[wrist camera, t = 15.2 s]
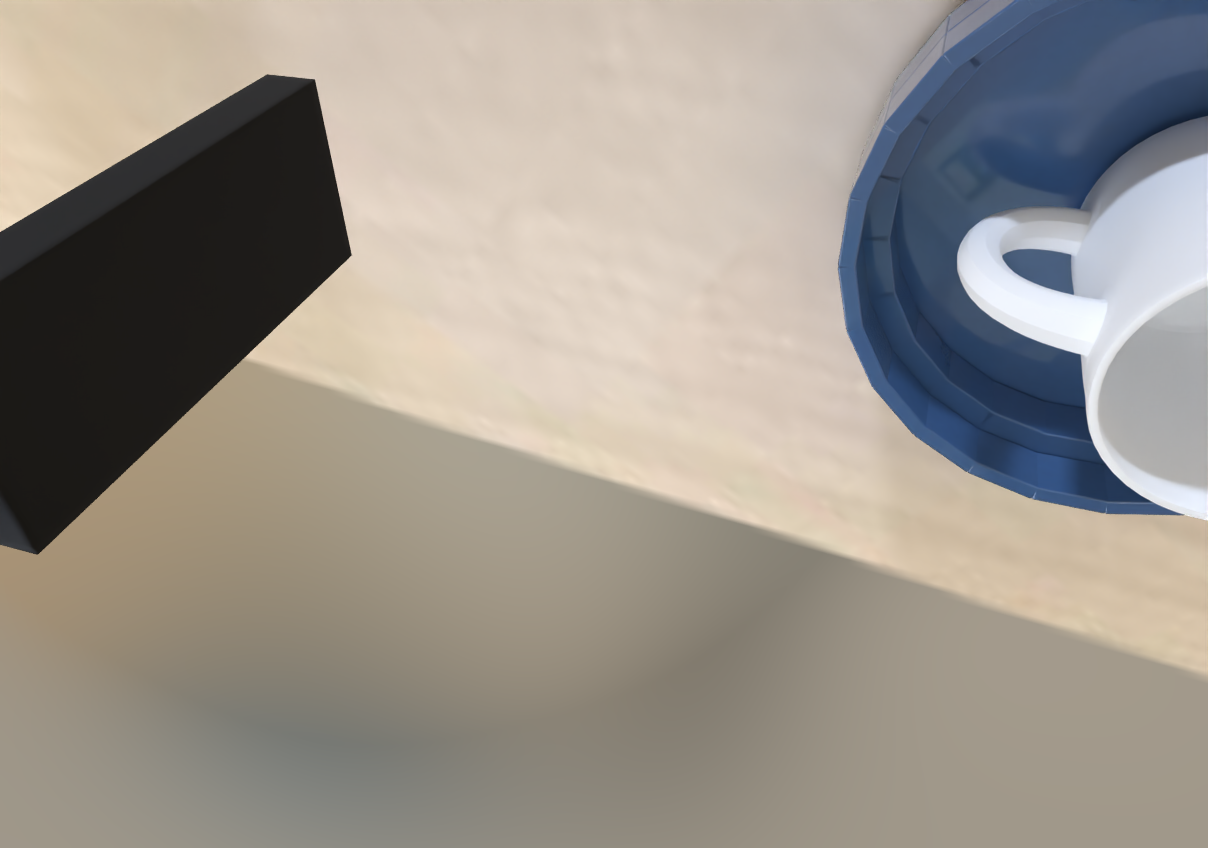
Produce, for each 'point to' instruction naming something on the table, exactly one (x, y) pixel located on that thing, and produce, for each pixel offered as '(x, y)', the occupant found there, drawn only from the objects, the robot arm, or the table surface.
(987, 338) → the bowl
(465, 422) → the table surface
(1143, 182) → the mug
